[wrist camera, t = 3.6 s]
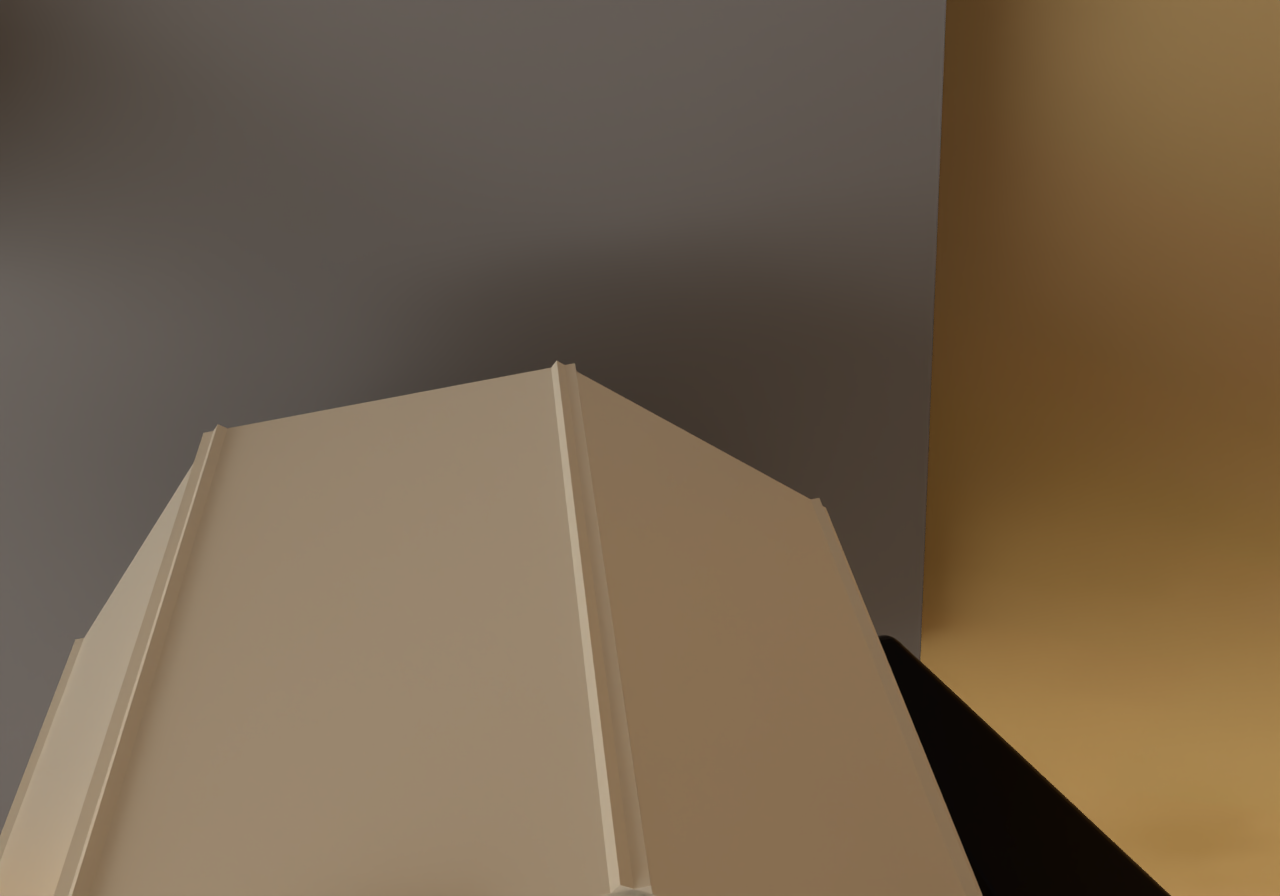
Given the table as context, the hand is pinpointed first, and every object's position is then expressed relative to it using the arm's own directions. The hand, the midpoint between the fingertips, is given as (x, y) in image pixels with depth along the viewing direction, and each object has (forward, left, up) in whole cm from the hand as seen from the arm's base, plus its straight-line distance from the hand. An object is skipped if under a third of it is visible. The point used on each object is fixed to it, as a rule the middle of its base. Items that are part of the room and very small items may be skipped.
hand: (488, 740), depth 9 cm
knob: (0, 0, -1) cm, 1 cm away
